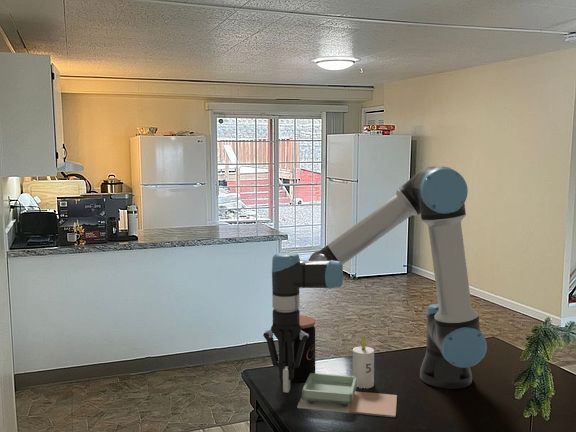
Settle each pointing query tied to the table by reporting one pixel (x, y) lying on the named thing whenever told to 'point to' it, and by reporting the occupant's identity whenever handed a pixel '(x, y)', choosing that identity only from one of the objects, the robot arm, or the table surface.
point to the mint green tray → (329, 388)
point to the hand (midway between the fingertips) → (286, 390)
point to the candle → (363, 365)
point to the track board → (359, 405)
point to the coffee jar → (304, 352)
